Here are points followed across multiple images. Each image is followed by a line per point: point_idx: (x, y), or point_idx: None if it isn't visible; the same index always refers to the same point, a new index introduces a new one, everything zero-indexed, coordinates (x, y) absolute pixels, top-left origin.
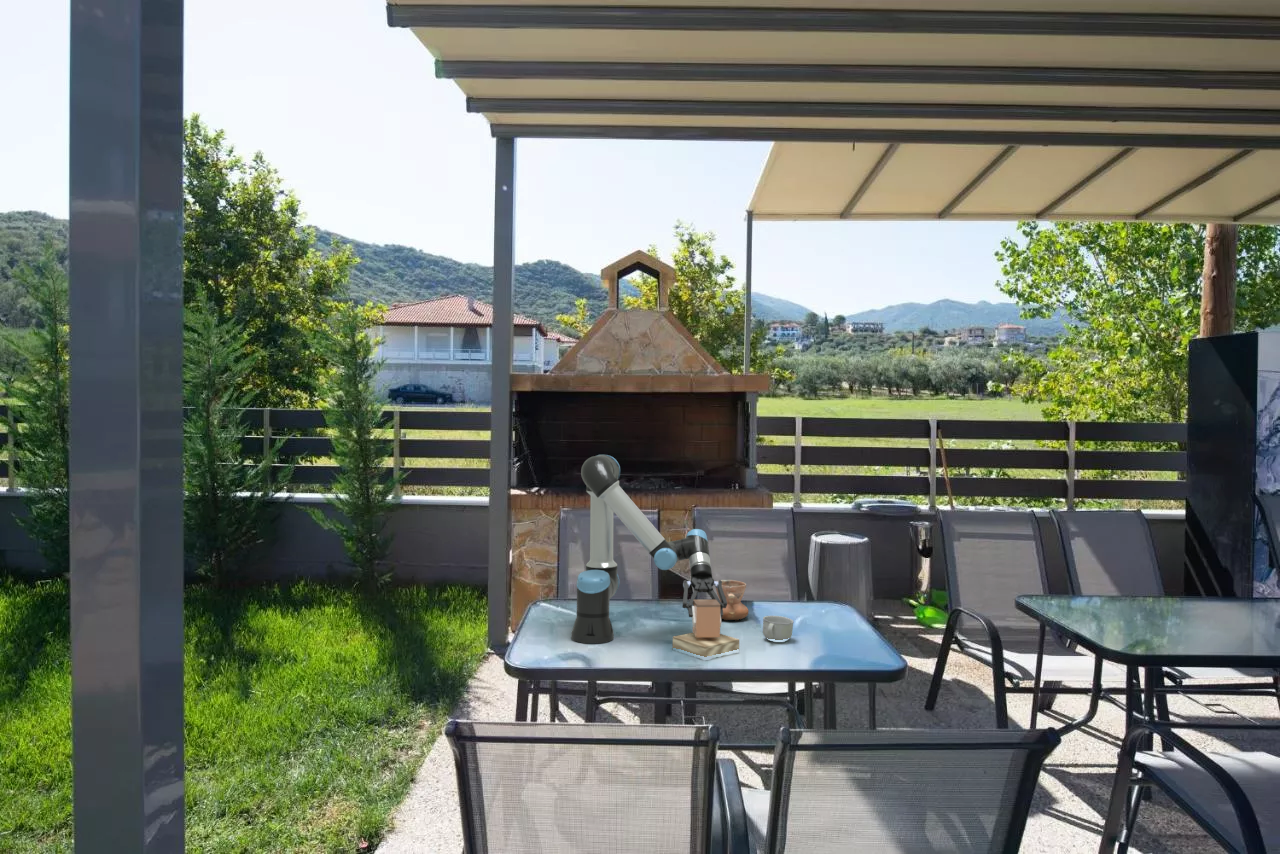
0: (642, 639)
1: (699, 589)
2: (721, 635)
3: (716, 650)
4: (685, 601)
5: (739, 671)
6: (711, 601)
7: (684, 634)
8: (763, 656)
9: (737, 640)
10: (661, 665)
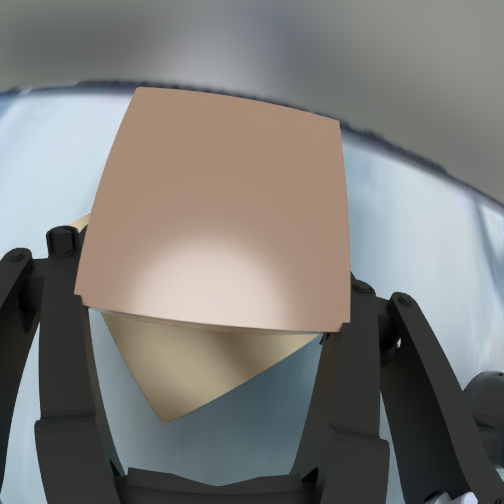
0: (388, 442)
1: (289, 477)
2: None
3: None
4: (407, 310)
5: (174, 84)
6: (163, 207)
7: (294, 348)
8: (37, 193)
9: (78, 220)
10: (366, 165)
